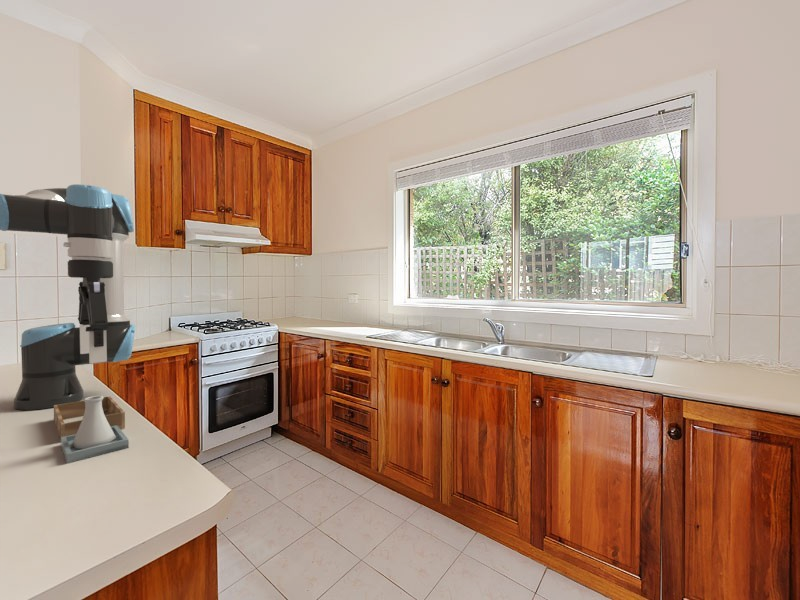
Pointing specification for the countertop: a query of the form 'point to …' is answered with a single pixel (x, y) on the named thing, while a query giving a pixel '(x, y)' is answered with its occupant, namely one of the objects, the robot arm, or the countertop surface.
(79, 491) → the countertop surface
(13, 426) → the countertop surface
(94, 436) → the flask
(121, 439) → the tray
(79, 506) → the countertop surface
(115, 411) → the caddy
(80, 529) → the countertop surface
